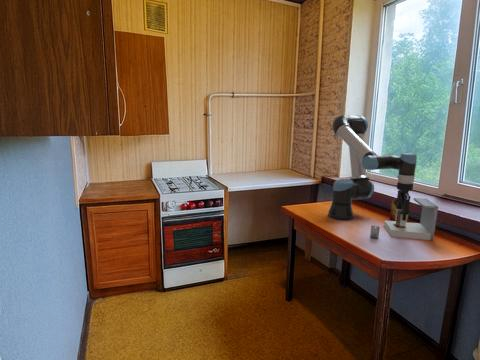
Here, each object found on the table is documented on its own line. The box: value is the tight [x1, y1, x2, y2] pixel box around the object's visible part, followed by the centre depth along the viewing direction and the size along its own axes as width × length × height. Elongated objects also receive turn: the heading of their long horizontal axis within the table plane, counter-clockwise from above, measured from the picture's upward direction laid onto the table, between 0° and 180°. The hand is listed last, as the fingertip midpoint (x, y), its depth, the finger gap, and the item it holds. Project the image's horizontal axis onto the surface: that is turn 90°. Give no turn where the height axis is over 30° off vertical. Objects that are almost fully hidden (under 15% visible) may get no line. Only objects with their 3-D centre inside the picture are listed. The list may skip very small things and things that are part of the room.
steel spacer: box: [369, 225, 380, 240], centre depth 155 cm, size 4×4×6 cm
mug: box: [389, 199, 411, 222], centre depth 180 cm, size 10×14×12 cm
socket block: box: [383, 197, 439, 241], centre depth 161 cm, size 16×20×18 cm
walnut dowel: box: [396, 210, 404, 228], centre depth 162 cm, size 4×4×12 cm
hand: (400, 223), depth 163 cm, fingers open, 8 cm apart
